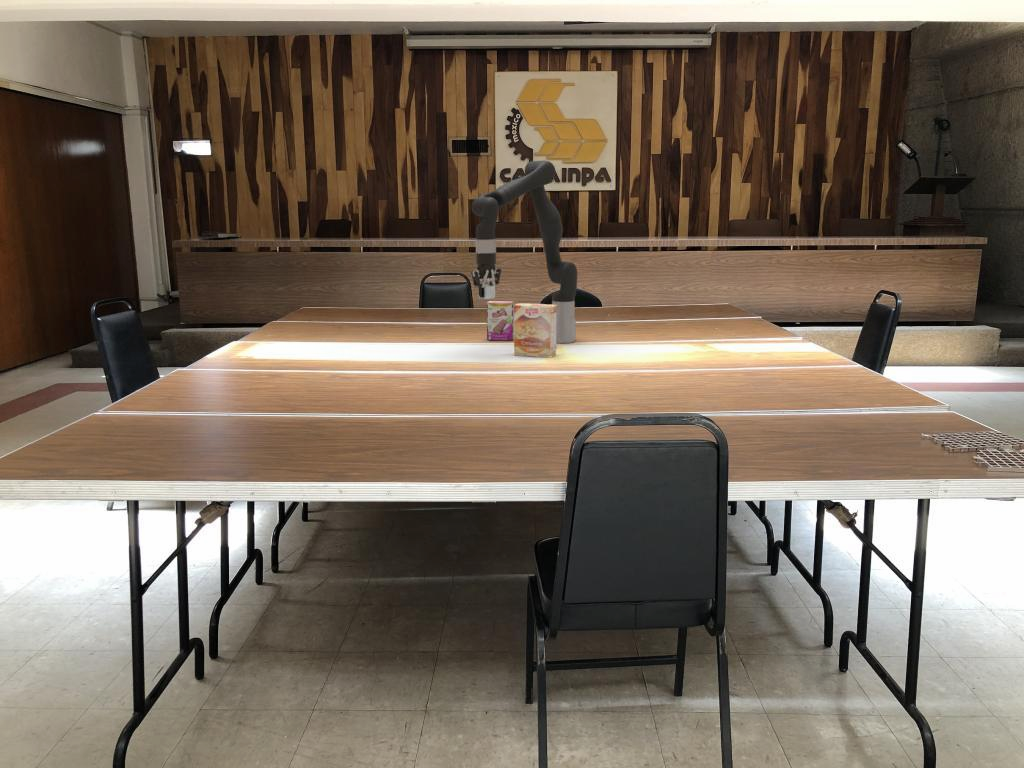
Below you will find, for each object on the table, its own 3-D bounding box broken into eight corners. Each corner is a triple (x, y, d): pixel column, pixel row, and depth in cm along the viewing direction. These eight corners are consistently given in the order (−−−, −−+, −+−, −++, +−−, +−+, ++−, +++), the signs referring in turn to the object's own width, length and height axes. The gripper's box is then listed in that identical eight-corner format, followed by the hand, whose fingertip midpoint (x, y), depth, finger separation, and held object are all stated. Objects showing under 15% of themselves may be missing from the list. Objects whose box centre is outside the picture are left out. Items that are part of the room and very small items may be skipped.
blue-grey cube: (486, 296, 326) (486, 285, 325) (495, 297, 323) (495, 286, 322) (478, 298, 323) (478, 286, 322) (486, 298, 320) (486, 287, 319)
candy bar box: (486, 341, 359) (486, 302, 355) (488, 339, 363) (487, 300, 360) (513, 341, 357) (513, 302, 354) (514, 339, 362) (514, 301, 359)
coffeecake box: (513, 355, 326) (513, 304, 322) (520, 352, 333) (520, 302, 329) (550, 358, 321) (550, 306, 316) (556, 354, 327) (556, 304, 323)
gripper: (492, 250, 327) (493, 294, 331) (465, 252, 317) (466, 297, 321) (506, 250, 322) (507, 296, 326) (479, 253, 312) (479, 299, 316)
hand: (486, 296), depth 323 cm, fingers closed on blue-grey cube, 4 cm apart
